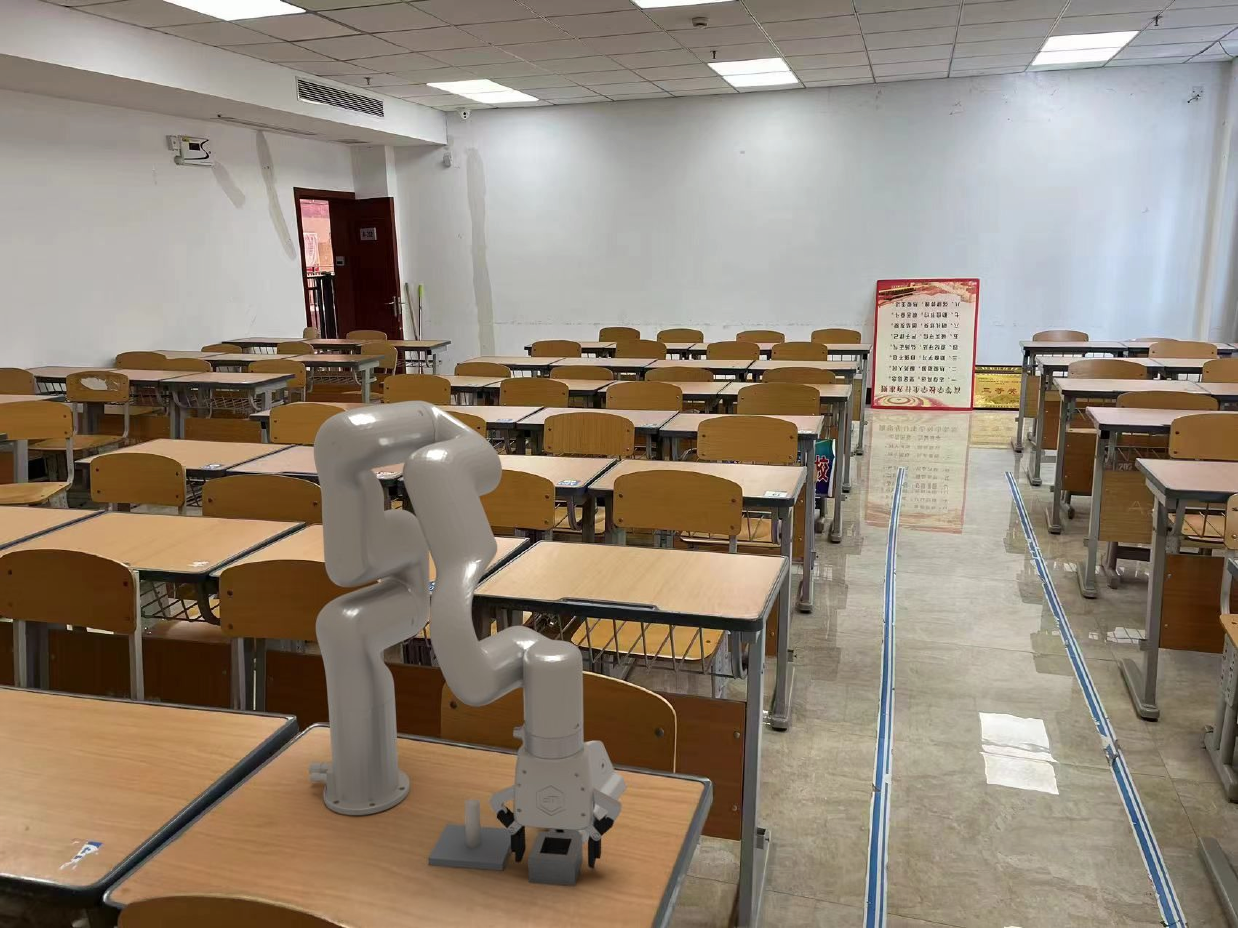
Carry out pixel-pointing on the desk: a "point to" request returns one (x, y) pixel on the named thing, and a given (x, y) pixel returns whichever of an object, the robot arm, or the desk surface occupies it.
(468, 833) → the keeper
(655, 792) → the desk surface
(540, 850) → the grey square hollow block
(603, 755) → the grey slotted holder
